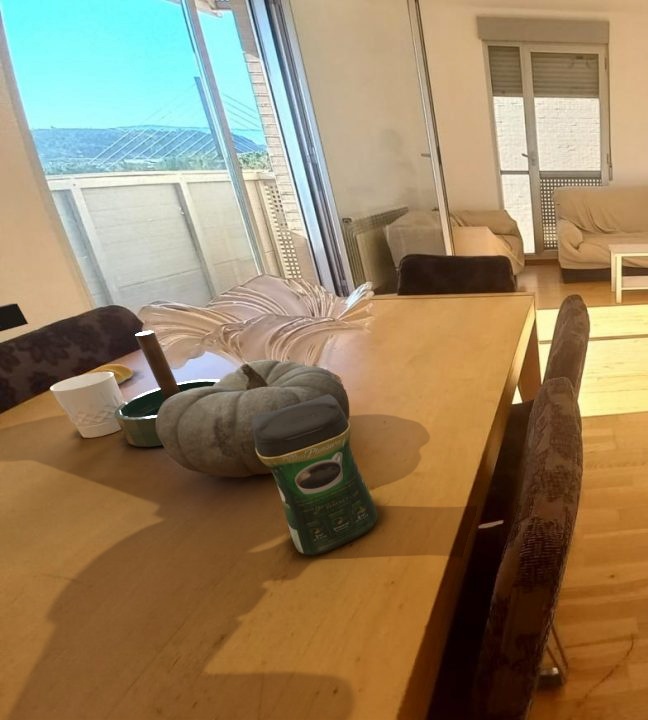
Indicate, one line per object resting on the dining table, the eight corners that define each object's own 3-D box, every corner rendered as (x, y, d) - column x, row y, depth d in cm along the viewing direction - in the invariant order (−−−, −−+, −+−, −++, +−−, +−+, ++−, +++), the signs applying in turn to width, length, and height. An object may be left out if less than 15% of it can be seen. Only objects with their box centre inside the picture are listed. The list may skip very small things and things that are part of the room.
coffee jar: (368, 499, 68) (334, 383, 61) (385, 528, 62) (349, 404, 55) (289, 532, 62) (241, 408, 55) (300, 568, 57) (248, 435, 49)
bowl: (126, 428, 89) (111, 400, 86) (228, 398, 99) (218, 372, 97) (133, 460, 79) (117, 429, 76) (246, 423, 89) (235, 395, 87)
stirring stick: (166, 424, 89) (123, 334, 81) (199, 413, 92) (161, 326, 85) (169, 433, 85) (125, 340, 78) (204, 422, 89) (165, 332, 82)
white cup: (135, 413, 94) (113, 368, 90) (136, 428, 89) (112, 380, 85) (78, 429, 89) (51, 381, 85) (75, 445, 84) (47, 395, 80)
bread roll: (141, 372, 113) (134, 357, 112) (116, 388, 105) (108, 372, 104) (98, 377, 111) (90, 362, 110) (70, 394, 103) (61, 377, 102)
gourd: (121, 507, 64) (94, 383, 60) (220, 438, 87) (206, 346, 83) (330, 489, 70) (317, 376, 66) (370, 429, 94) (362, 343, 90)
